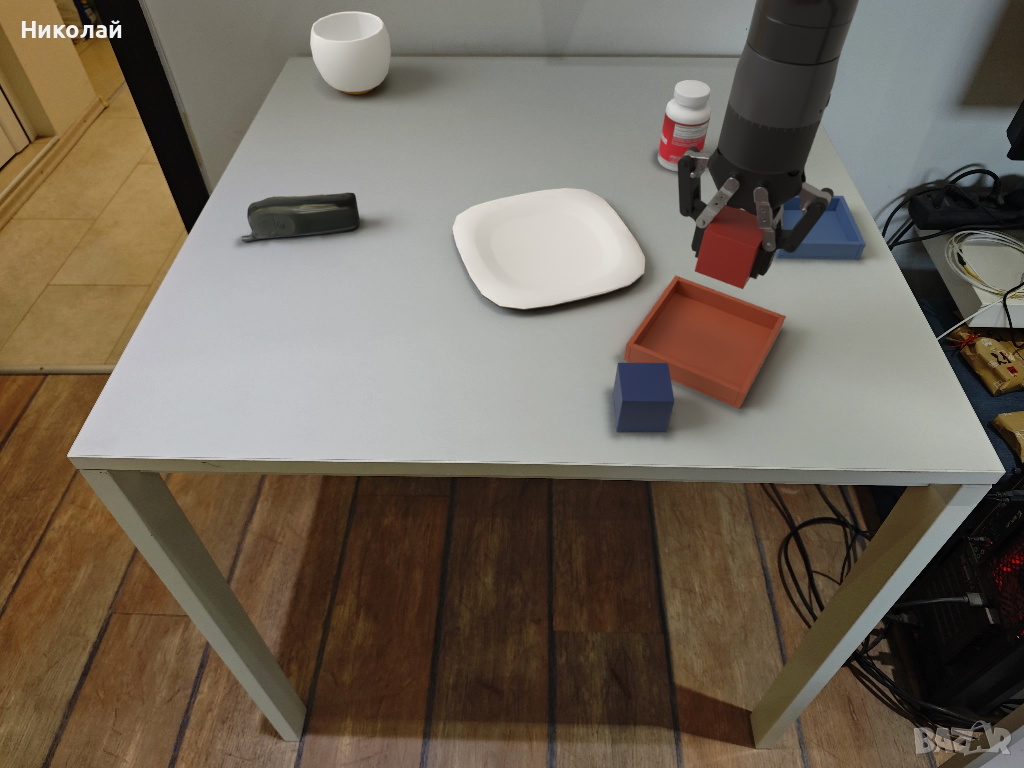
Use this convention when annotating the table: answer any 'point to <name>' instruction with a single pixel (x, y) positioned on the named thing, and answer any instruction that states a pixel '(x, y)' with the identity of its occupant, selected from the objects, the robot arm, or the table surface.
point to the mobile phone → (302, 215)
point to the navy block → (642, 397)
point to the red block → (730, 247)
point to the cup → (351, 50)
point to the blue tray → (825, 233)
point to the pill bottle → (684, 122)
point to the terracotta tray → (706, 339)
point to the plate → (546, 248)
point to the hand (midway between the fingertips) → (728, 263)
